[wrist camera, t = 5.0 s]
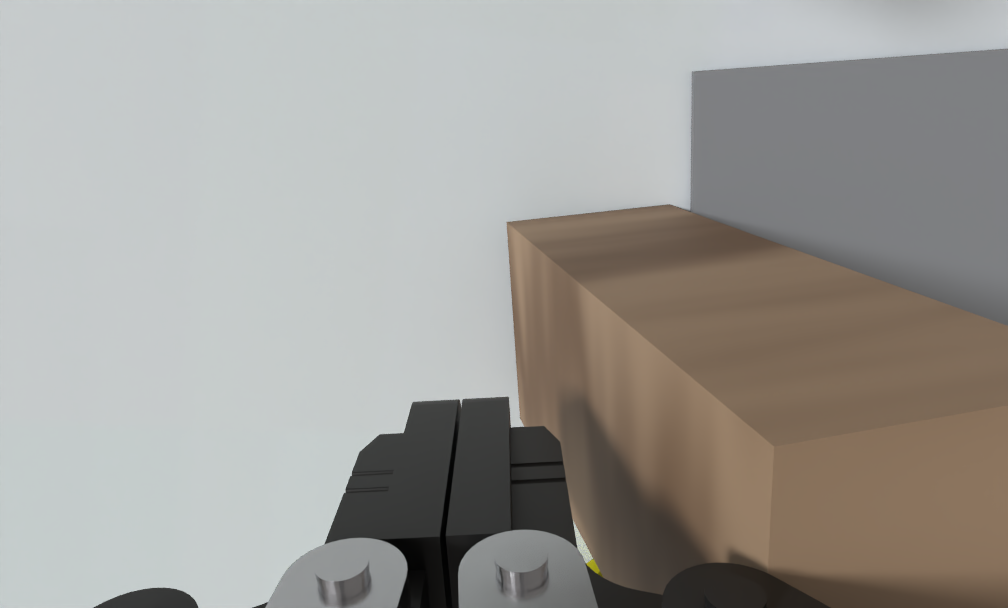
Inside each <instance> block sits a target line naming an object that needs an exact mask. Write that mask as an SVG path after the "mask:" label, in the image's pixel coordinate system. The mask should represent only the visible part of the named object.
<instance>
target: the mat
mask: <svg viewBox="0 0 1008 608" xmlns="http://www.w3.org/2000/svg"><path fill="white" fill-rule="evenodd" d="M691 212H692V213H695V214H697V215H700V216H703V217H706V218H709V219H711V220H714V221H717V222H720V223H722V224H725V225H728V226H731V227H734V228H736V229H739V230H742V231H745V232H748V233H750V234H753V235H756V236H759V237H762V238H764V239H767V240H770V241H773V242H775V243H778V244H781V245H784V246H787V247H789V248H792V249H795V250H798V251H801V252H803V253H806V254H809V255H812V256H814V257H817V258H820V259H823V260H826V261H828V262H831V263H834V264H837V265H840V266H842V267H845V268H848V269H851V270H853V271H856V272H859V273H862V274H865V275H867V276H870V277H873V278H876V279H879V280H881V281H884V282H887V283H890V284H892V285H895V286H898V287H901V288H904V289H906V290H909V291H912V292H915V293H918V294H920V295H923V296H926V297H929V298H931V299H934V300H937V301H940V302H943V303H945V304H948V305H951V306H954V307H957V308H959V309H962V310H965V311H968V312H970V313H973V314H976V315H979V316H982V317H984V318H987V319H990V320H993V321H996V322H998V323H1001V324H1004V325H1007V326H1008V49H999V50H985V51H971V52H958V53H944V54H930V55H916V56H902V57H888V58H875V59H861V60H847V61H833V62H819V63H806V64H792V65H778V66H764V67H750V68H736V69H723V70H709V71H695V72H692V126H691Z"/></svg>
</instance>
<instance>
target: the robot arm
mask: <svg viewBox="0 0 1008 608" xmlns="http://www.w3.org/2000/svg"><path fill="white" fill-rule="evenodd" d="M94 608H198V605H197V603H196V601H195V600H194V599H193V598H192V597H191V596H190V595H189V594H187V593H185V592H183V591H180V590H177V589H171V588H150V589H143V590H138V591H134V592H130V593H127V594H123V595H120V596H117V597H115V598H113V599H110V600H108V601H106V602H104V603H102V604H100V605H98V606H96V607H94ZM253 608H831V607H829V606H827V605H825V604H823V603H822V602H820V601H818V600H816V599H814V598H812V597H811V596H809V595H807V594H805V593H803V592H802V591H800V590H798V589H796V588H794V587H792V586H791V585H789V584H787V583H785V582H783V581H781V580H780V579H778V578H776V577H774V576H772V575H770V574H768V573H766V572H764V571H761V570H758V569H755V568H752V567H748V566H744V565H740V564H733V563H717V562H716V563H705V564H700V565H696V566H693V567H690V568H687V569H685V570H683V571H681V572H680V573H678V574H677V575H675V576H674V577H673V578H672V579H671V580H670V581H669V583H668V584H667V585H666V587H665V590H664V592H663V595H661V594H656V593H650V592H645V591H640V590H635V589H631V588H627V587H624V586H621V585H618V584H615V583H613V582H611V581H609V580H607V579H605V578H603V577H601V576H600V575H598V574H597V573H595V572H594V571H593V570H592V569H591V568H590V567H589V566H588V565H587V564H586V563H585V561H584V559H583V556H582V555H581V553H580V552H579V550H578V548H577V544H576V538H575V532H574V525H573V519H572V513H571V506H570V500H569V494H568V488H567V482H566V475H565V469H564V464H563V456H562V450H561V443H560V441H559V440H558V439H557V438H556V437H555V436H554V435H553V434H552V433H551V432H550V431H549V430H548V429H547V428H546V427H545V426H532V427H513V428H511V425H510V408H509V397H495V398H476V399H463V401H462V408H461V404H460V400H441V401H422V402H413V403H412V406H411V409H410V413H409V417H408V420H407V424H406V428H405V431H404V433H400V434H380V435H379V436H377V437H376V438H375V439H374V440H373V441H372V442H371V443H370V444H368V445H367V446H366V447H365V448H364V449H363V450H362V451H360V453H359V455H358V458H357V460H356V463H355V466H354V468H353V471H352V476H350V479H349V481H348V484H347V487H346V493H344V495H343V497H342V500H341V502H340V505H339V508H338V510H337V513H336V516H335V518H334V521H333V523H332V526H331V529H330V531H329V534H328V536H327V539H326V542H325V544H324V545H322V546H319V547H317V548H315V549H313V550H311V551H309V552H308V553H306V554H305V555H303V556H301V557H300V558H299V559H298V560H296V561H295V562H294V563H293V564H292V565H291V566H290V567H289V568H288V569H287V570H286V572H285V573H284V575H283V576H282V578H281V580H280V582H279V583H278V585H277V587H276V589H275V591H274V593H273V594H272V596H271V598H270V600H269V602H267V603H265V604H262V605H259V606H256V607H253Z"/></svg>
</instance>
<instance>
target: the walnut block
mask: <svg viewBox="0 0 1008 608" xmlns="http://www.w3.org/2000/svg"><path fill="white" fill-rule="evenodd" d="M507 233H508V248H509V263H510V277H511V292H512V306H513V321H514V335H515V350H516V364H517V379H518V393H519V408H520V419H521V421H522V423H523V425H524V427H532V426H545V427H546V428H547V429H548V430H549V431H550V432H551V433H552V434H553V435H554V436H555V437H556V438H557V439H558V440H559V441H560V443H561V450H562V456H563V464H564V469H565V475H566V482H567V488H568V494H569V500H570V506H571V513H572V519H573V520H574V522H575V524H576V526H577V528H578V530H579V532H580V534H581V536H582V538H583V540H584V542H585V543H586V545H587V547H588V549H589V551H590V553H591V555H592V557H593V559H594V561H595V563H596V564H597V566H598V568H599V570H600V572H601V574H602V576H603V578H605V579H607V580H609V581H611V582H613V583H615V584H618V585H621V586H624V587H627V588H631V589H635V590H640V591H645V592H650V593H656V594H661V595H663V592H664V590H665V587H666V585H667V584H668V583H669V581H670V580H671V579H672V578H673V577H674V576H675V575H677V574H678V573H680V572H681V571H683V570H685V569H687V568H690V567H693V566H696V565H700V564H705V563H716V562H717V563H733V564H740V565H744V566H748V567H752V568H755V569H758V570H761V571H764V572H766V573H768V574H770V575H772V576H774V577H776V578H778V579H780V580H781V581H783V582H785V583H787V584H789V585H791V586H792V587H794V588H796V589H798V590H800V591H802V592H803V593H805V594H807V595H809V596H811V597H812V598H814V599H816V600H818V601H820V602H822V603H823V604H825V605H827V606H829V607H831V608H1008V326H1007V325H1004V324H1001V323H998V322H996V321H993V320H990V319H987V318H984V317H982V316H979V315H976V314H973V313H970V312H968V311H965V310H962V309H959V308H957V307H954V306H951V305H948V304H945V303H943V302H940V301H937V300H934V299H931V298H929V297H926V296H923V295H920V294H918V293H915V292H912V291H909V290H906V289H904V288H901V287H898V286H895V285H892V284H890V283H887V282H884V281H881V280H879V279H876V278H873V277H870V276H867V275H865V274H862V273H859V272H856V271H853V270H851V269H848V268H845V267H842V266H840V265H837V264H834V263H831V262H828V261H826V260H823V259H820V258H817V257H814V256H812V255H809V254H806V253H803V252H801V251H798V250H795V249H792V248H789V247H787V246H784V245H781V244H778V243H775V242H773V241H770V240H767V239H764V238H762V237H759V236H756V235H753V234H750V233H748V232H745V231H742V230H739V229H736V228H734V227H731V226H728V225H725V224H722V223H720V222H717V221H714V220H711V219H709V218H706V217H703V216H700V215H697V214H695V213H692V212H689V211H686V210H683V209H681V208H678V207H675V206H672V205H670V204H669V205H660V206H651V207H641V208H632V209H623V210H614V211H605V212H595V213H586V214H577V215H568V216H559V217H549V218H540V219H531V220H522V221H513V222H507Z"/></svg>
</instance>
